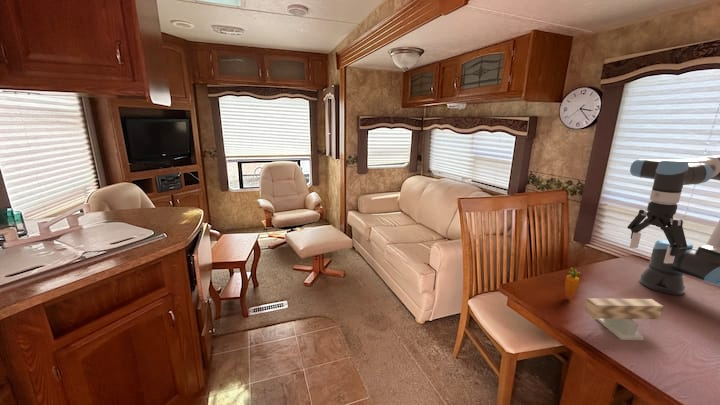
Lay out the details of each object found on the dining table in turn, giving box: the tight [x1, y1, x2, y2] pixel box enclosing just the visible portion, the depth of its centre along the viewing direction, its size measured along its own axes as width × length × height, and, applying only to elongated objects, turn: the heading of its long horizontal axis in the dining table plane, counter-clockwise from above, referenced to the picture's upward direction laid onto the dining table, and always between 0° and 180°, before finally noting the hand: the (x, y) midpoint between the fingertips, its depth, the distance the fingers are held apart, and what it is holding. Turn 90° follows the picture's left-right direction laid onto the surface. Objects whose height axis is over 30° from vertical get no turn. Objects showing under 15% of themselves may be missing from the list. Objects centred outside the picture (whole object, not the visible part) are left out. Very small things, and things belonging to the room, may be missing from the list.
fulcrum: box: [595, 318, 645, 341], centre depth 109 cm, size 8×12×6 cm, turn 179°
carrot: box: [564, 267, 581, 300], centre depth 127 cm, size 5×5×15 cm
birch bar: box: [583, 297, 664, 320], centre depth 108 cm, size 24×4×6 cm, turn 89°
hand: (649, 254), depth 112 cm, fingers open, 13 cm apart
